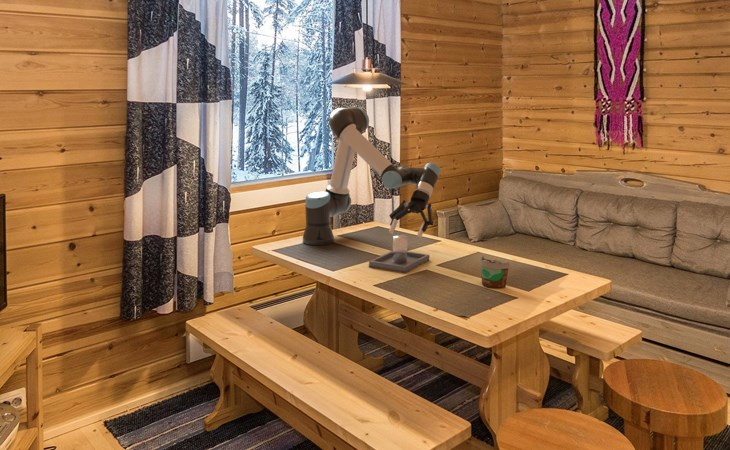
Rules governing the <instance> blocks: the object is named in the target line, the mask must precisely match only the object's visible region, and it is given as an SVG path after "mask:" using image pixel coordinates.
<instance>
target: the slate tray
mask: <svg viewBox="0 0 730 450" xmlns="http://www.w3.org/2000/svg"><path fill="white" fill-rule="evenodd" d="M429 261H430V254H427V253H421V252H413V251H408V250H407V263H404V264H396V263H393V250H390V251H388V252H386V253H384V254H382V255H380V256H377V257H376V258H373V259H370V260H369V261H368V267H369V268H372V269H380V270H383V271H384V270H385V271H389V272H396V273H402V274H407V273H408V272H410V271H413V270H414V269H416V268H418V267H419V266H422V265H424V264H425V263H427V262H429Z"/></svg>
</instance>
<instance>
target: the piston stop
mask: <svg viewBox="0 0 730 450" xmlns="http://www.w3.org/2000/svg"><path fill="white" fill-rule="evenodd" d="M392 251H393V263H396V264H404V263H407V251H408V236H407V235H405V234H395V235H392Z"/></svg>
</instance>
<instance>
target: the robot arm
mask: <svg viewBox="0 0 730 450" xmlns="http://www.w3.org/2000/svg"><path fill="white" fill-rule="evenodd" d="M328 124H329V127H330V130H331V131H332V133H333V134H334V136H336V137H337V139H338V144H337V149H336V154H335V159H334V164H333V168H332V173H331V177H330V178H331V179H330V183H329V184H328V185H326V188H325V190H324V191H323V190H322V191H314V192H311V193H309V194H306V196H305V202H304V204H305V229H304V231H303V235H302V243H303V244H306V245H311V246H324V245H325V246H326V245H330V244H333V243H334V242H335V236H334V233H333V229H332V227H331V218H332V217H335V216H340V215H342V214H345V213H347V212H348V210H349V209H350V208H351V205H352V198H351V195H350V190H349V188H348V186H349V183H350V182H349V181H350V177H351V172H352V167H353V163H354V159H355V153H356V154H357V155H358V156H360V158H361V159H362V160H363V161H364V162H365V163H366V164H367V165H369V166H370V167H371V169H372V170H374V172H376V174H378V175H379V176H380V177H381V181H382V184H383V186H384V187H385V188H387V189H398V188H400V187H403V186H407V185H408V186H409V185H416V186H415V187H414V190H413V193H412V195H411V197H410V201H409V202H407V201H406V200H402V202H401V203H400V205H399V206H398V207H397V208H395V209H393V212H391V213H390V214H389V218H390V219H391V221H390V222H389V223H390V224H389V226H390V227H389V229H388V233H389V234H390V235H392V236H393V234H394V232H395V230H396V227H397V224H398V223H399V222H398V221H399V220H401V219H402V218H404V217H405V216H407V215H409V214H411V213H412V214H420V215H421V218H422V219H423V222H422V223H421V225H420V228H419V229H418V232H417V235H416V236H417V238H418V239H419V240H421V239H422V237H423V234H424V233H425V232H426V231H427V229H428V227H429V226H434V220H433V208H434V207H433V206H432V204H431V203H429V200H430V198H431V197H432V196H431V195H432V194H433V191H434V188H435V186H436V184H437V182H438V180H439V176H440V174H441V168H440V166H439V165H437V164H436V163H433V162H427V163H426V164H425V165H424V166H423V167H414V166H413V167H412V166H398V167H396V166H395V165H394V164H393V163H392V162H391V161H390V160H389V159H388V158H386V156H385V155H383V153H382V152H381V151H379V150H378V149H377V147H376V146H374V144H373V143H372V142H370V141H369V139H367V138H366V137H365V136H364V135H363V132H365V131H366V130H368V127H369V125H370V118H369V115H368V113H367V111H365V109H363V108H362V107H357V106H351V107H340V108H339V107H338V108H336V109H334V110H333V111H332V112H331V113H330V116H329V119H328ZM424 210H427V216H428V217H426V215H425V212H424ZM427 218H428V219H427Z"/></svg>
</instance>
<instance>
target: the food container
mask: <svg viewBox="0 0 730 450" xmlns="http://www.w3.org/2000/svg"><path fill="white" fill-rule="evenodd" d="M478 264H479V266H480V268H481V270H480V271H481V285H482V286H483V287H485V288H488V289H498V290H499V289H504V288H506V286H507V280H508V272H509V269H510V268H511V266H510V262H509V261H507V262H501V261H498V260H494V259H493V260H492V259H487V258H485V256H482V257H480V259H479V263H478Z"/></svg>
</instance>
